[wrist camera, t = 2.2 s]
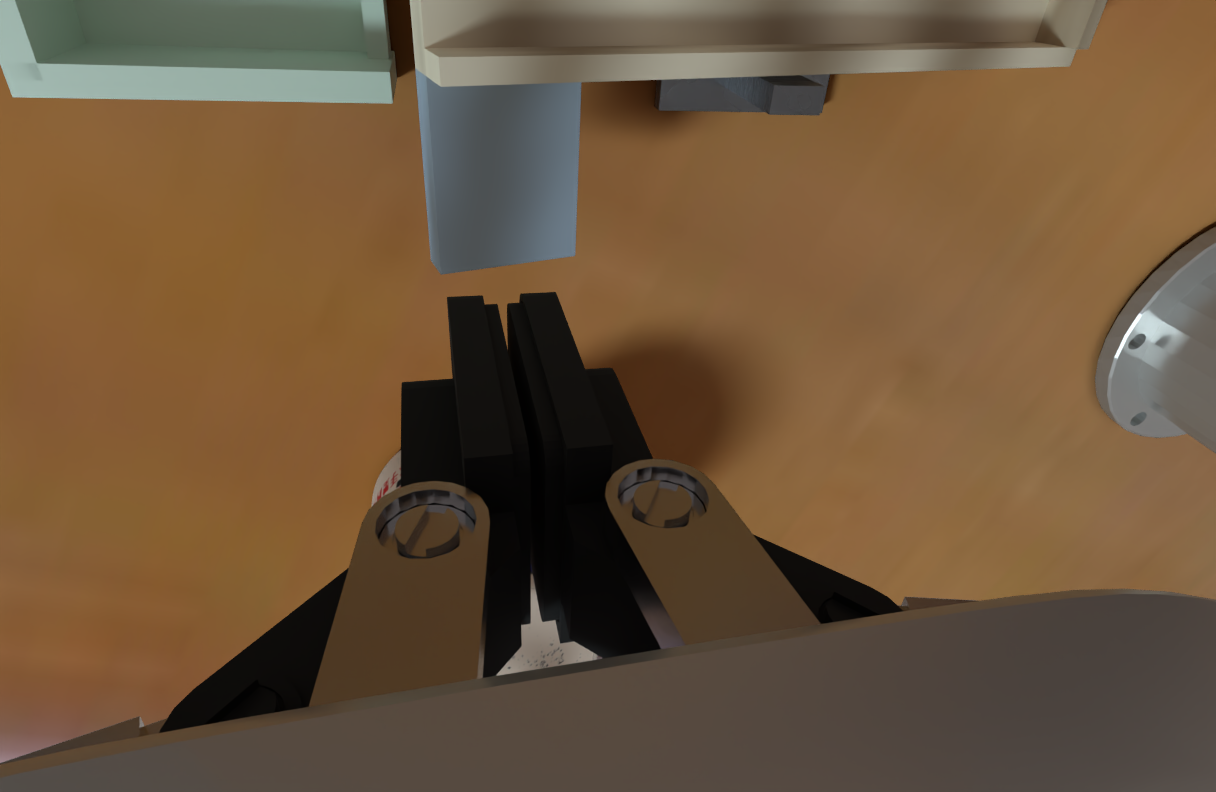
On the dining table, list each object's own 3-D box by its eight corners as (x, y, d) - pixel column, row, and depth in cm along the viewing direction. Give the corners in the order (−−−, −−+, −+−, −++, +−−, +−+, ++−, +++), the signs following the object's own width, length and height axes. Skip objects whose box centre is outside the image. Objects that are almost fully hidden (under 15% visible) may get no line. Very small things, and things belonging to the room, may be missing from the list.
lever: (1111, -231, 22) (1201, -242, 20) (969, 190, 29) (1025, 211, 27) (377, -407, 13) (412, -456, 11) (431, 260, 20) (458, 298, 18)
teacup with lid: (467, 376, 29) (486, 600, 20) (609, 485, 34) (678, 706, 25) (280, 546, 32) (219, 811, 23) (436, 624, 37) (439, 869, 28)
